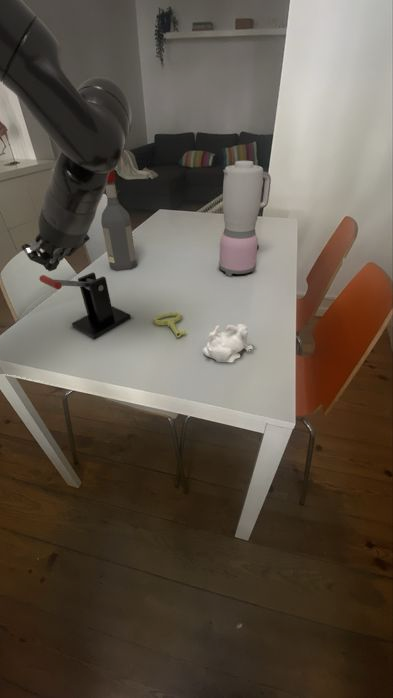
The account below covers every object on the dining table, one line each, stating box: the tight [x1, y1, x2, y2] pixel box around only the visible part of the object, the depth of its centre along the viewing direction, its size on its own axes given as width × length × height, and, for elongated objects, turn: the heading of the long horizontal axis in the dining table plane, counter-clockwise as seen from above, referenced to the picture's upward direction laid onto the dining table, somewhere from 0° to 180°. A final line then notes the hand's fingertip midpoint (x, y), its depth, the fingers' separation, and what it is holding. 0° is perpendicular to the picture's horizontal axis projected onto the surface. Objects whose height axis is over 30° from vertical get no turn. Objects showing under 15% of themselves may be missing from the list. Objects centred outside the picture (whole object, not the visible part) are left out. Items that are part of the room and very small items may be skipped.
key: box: [153, 311, 187, 338], centre depth 81 cm, size 7×12×2 cm, turn 39°
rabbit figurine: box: [202, 323, 254, 363], centre depth 68 cm, size 12×8×10 cm, turn 94°
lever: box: [39, 274, 97, 290], centre depth 73 cm, size 13×6×2 cm, turn 141°
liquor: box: [100, 169, 138, 272], centre depth 104 cm, size 9×9×30 cm
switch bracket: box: [71, 271, 131, 340], centre depth 80 cm, size 12×9×13 cm
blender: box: [218, 160, 272, 277], centre depth 99 cm, size 16×12×32 cm
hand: (49, 266), depth 65 cm, fingers closed
